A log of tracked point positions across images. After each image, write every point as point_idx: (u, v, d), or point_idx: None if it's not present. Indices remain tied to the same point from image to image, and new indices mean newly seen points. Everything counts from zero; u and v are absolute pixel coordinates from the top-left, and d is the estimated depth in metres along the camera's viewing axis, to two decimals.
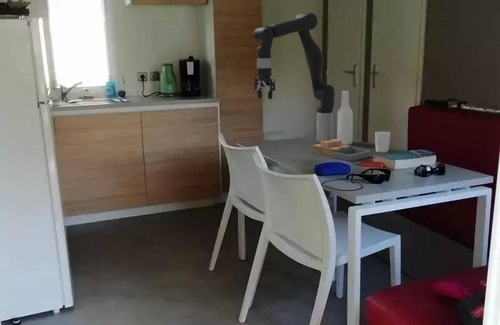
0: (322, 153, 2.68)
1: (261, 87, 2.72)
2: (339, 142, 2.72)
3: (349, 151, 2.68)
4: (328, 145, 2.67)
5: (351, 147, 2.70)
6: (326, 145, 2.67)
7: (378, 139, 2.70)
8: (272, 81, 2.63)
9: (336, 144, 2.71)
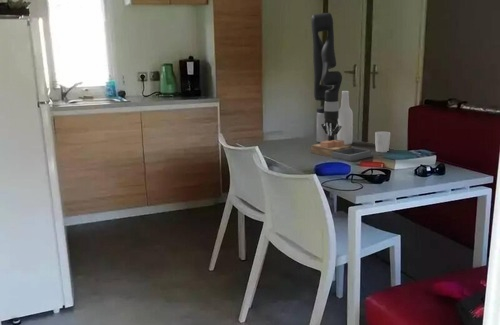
0: (322, 153, 2.68)
1: None
2: (341, 142, 2.71)
3: (349, 151, 2.68)
4: (328, 145, 2.67)
5: (351, 147, 2.70)
6: (326, 145, 2.67)
7: (378, 139, 2.70)
8: (338, 128, 2.69)
9: (338, 144, 2.69)
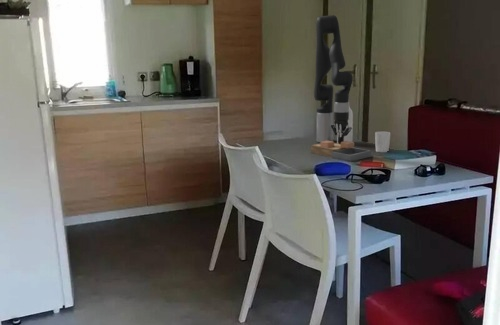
0: (322, 153, 2.68)
1: None
2: (352, 144, 2.66)
3: (349, 151, 2.68)
4: (328, 145, 2.67)
5: None
6: (326, 145, 2.67)
7: (378, 139, 2.70)
8: (348, 130, 2.63)
9: (349, 146, 2.65)
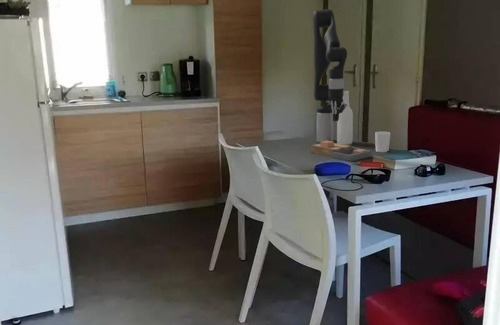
0: (322, 153, 2.68)
1: None
2: None
3: (349, 151, 2.68)
4: (328, 145, 2.67)
5: (351, 147, 2.70)
6: (326, 145, 2.67)
7: (378, 139, 2.70)
8: (343, 106, 2.61)
9: None
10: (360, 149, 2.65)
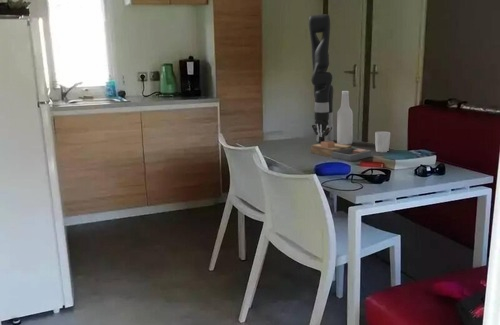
0: (322, 153, 2.68)
1: None
2: None
3: (349, 151, 2.68)
4: (328, 145, 2.67)
5: (351, 147, 2.70)
6: (326, 145, 2.67)
7: (378, 139, 2.70)
8: (328, 130, 2.66)
9: None
10: (360, 149, 2.65)
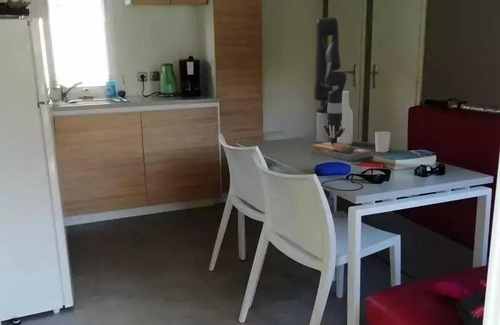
0: (322, 153, 2.68)
1: None
2: None
3: (349, 151, 2.68)
4: (341, 149, 2.61)
5: (351, 147, 2.70)
6: (339, 148, 2.61)
7: (378, 139, 2.70)
8: (341, 131, 2.59)
9: None
10: (360, 149, 2.65)
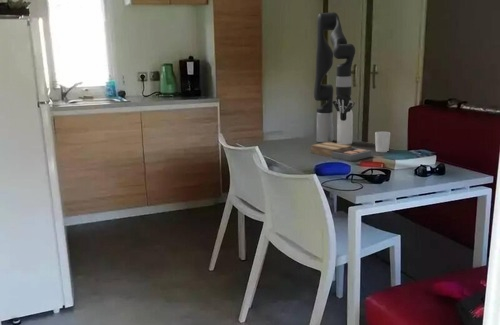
0: (322, 153, 2.68)
1: None
2: None
3: None
4: None
5: (351, 147, 2.70)
6: None
7: (378, 139, 2.70)
8: (351, 105, 2.52)
9: None
10: (360, 149, 2.65)
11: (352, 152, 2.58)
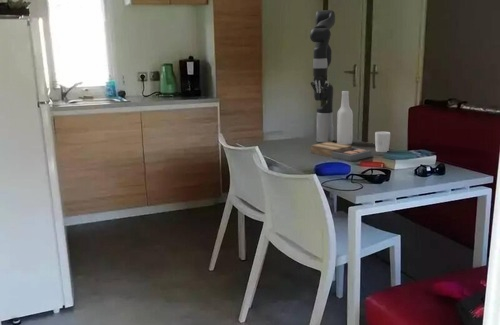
0: (322, 153, 2.68)
1: None
2: None
3: None
4: None
5: (351, 147, 2.70)
6: None
7: (378, 139, 2.70)
8: (327, 85, 2.70)
9: None
10: (360, 149, 2.65)
11: (352, 152, 2.58)
